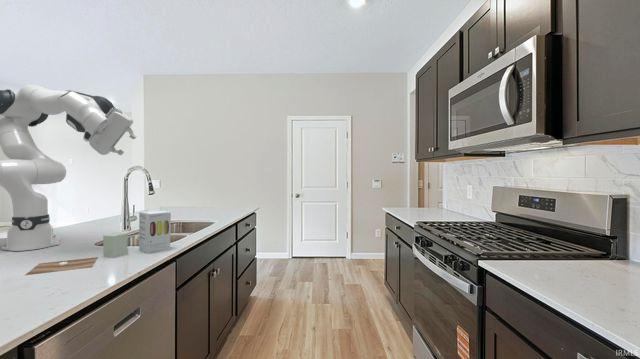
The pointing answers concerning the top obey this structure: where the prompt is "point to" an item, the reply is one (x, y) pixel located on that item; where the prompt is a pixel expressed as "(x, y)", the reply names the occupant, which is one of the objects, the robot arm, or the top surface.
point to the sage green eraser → (115, 245)
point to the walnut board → (70, 266)
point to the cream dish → (63, 264)
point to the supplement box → (154, 231)
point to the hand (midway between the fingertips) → (128, 146)
